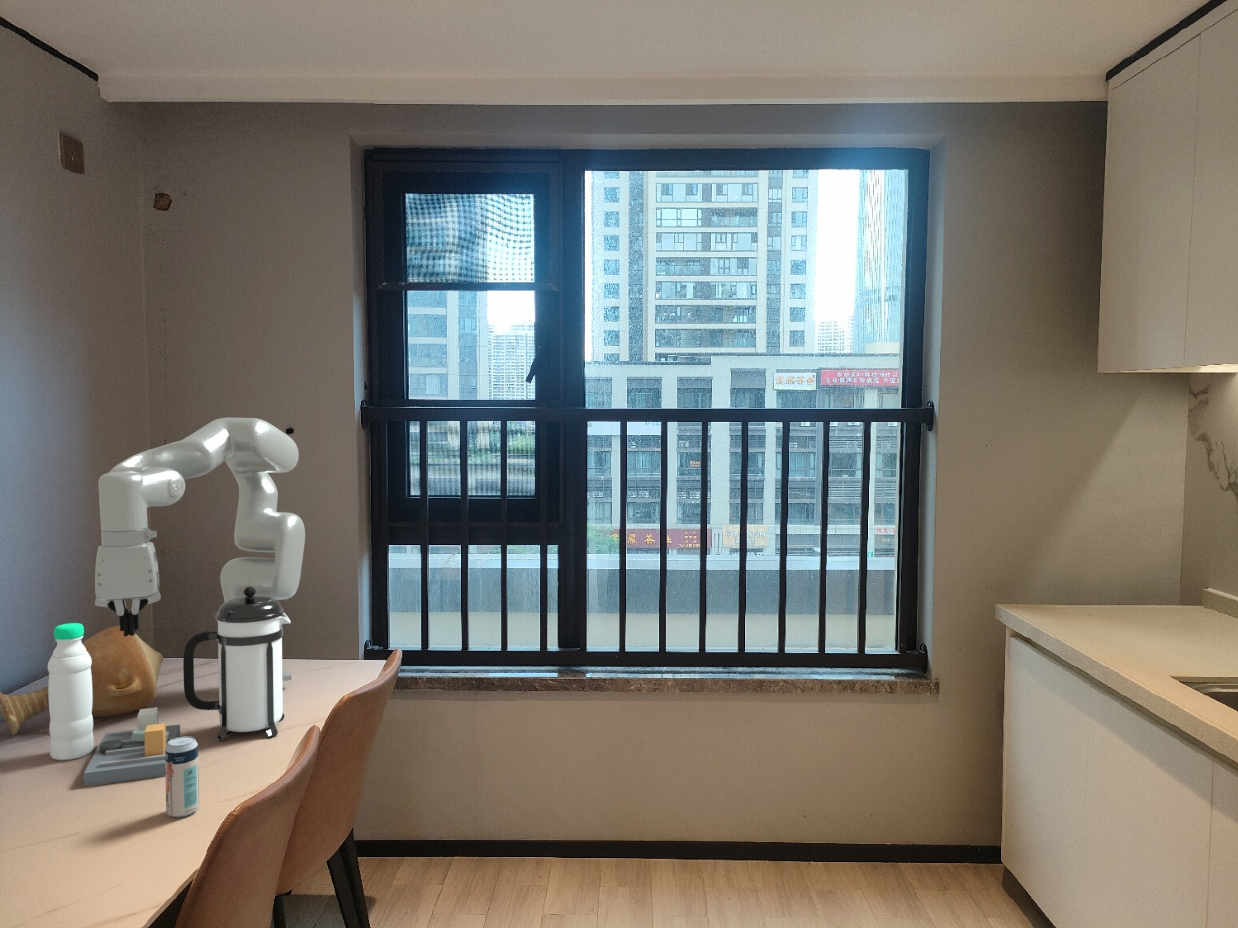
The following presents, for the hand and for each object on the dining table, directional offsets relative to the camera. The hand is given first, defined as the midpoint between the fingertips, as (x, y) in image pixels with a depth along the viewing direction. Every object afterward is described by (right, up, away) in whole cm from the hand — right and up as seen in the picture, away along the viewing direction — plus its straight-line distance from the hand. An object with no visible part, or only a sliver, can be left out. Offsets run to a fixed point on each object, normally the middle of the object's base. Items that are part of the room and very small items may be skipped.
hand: (130, 633), depth 159 cm
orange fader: (+7, -21, -3) cm, 23 cm away
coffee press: (+15, -23, +15) cm, 31 cm away
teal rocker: (+3, -20, +1) cm, 20 cm away
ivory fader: (+1, -21, +5) cm, 22 cm away
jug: (-22, -23, +21) cm, 38 cm away
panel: (+1, -24, 0) cm, 24 cm away
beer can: (+21, -25, -21) cm, 39 cm away
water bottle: (-12, -24, +2) cm, 27 cm away
